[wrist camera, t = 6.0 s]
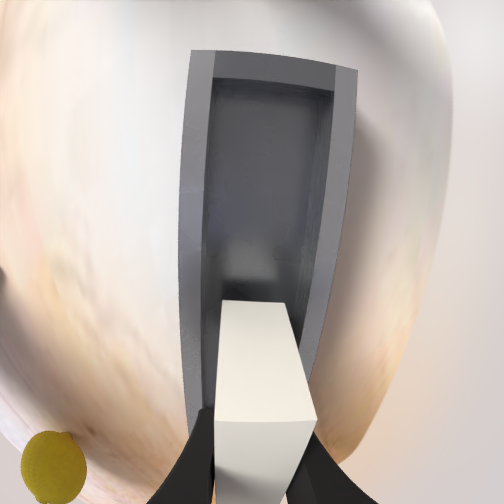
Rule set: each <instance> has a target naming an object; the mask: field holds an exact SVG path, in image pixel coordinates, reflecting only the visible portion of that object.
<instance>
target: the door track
mask: <svg viewBox="0 0 504 504" xmlns="http://www.w3.org/2000/svg"><path fill="white" fill-rule="evenodd" d="M357 76H358V70H355V69H351V68H347V67H342V66H338V65H333V64H329V63H324V62H318V61H313V60H307V59H301V58H295V57H288V56H281V55H272V54H263V53H252V52H239V51H217V50H191V56H190V64H189V72H188V81H187V90H186V100H185V111H184V122H183V135H182V150H181V167H180V189H179V225H178V279H179V315H180V337H181V354H182V369H183V382H184V393H185V404H186V414H187V423H188V432H189V437H190V435H191V432H192V430H193V428H194V425H195V422H196V419H197V416H198V412H199V410H200V409H202V408H203V409H215V397H216V381H217V365H218V351H219V337H220V324H221V311H222V300H231V301H250V302H273V303H285V306H286V310H287V313H288V317H289V320H290V324H291V327H292V331H293V334H294V338H295V341H296V345H297V348H298V352H299V355H300V359H301V362H302V366H303V369H304V373H305V377H306V380H307V384H308V383H309V379H310V375H311V372H312V368H313V364H314V360H315V356H316V352H317V349H318V344H319V340H320V336H321V332H322V328H323V323H324V319H325V315H326V310H327V306H328V301H329V296H330V291H331V286H332V281H333V276H334V271H335V266H336V260H337V255H338V249H339V243H340V238H341V231H342V225H343V219H344V212H345V205H346V198H347V191H348V183H349V175H350V166H351V157H352V147H353V137H354V125H355V112H356V96H357Z"/></svg>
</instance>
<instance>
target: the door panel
mask: <svg viewBox="0 0 504 504" xmlns="http://www.w3.org/2000/svg"><path fill="white" fill-rule="evenodd" d="M316 422H317V416H316V413H315V409H314V405H313V402H312V398H311V395H310V391H309V387H308V384H307V380H306V377H305V373H304V369H303V366H302V362H301V359H300V355H299V352H298V348H297V345H296V341H295V338H294V334H293V331H292V327H291V324H290V320H289V317H288V313H287V310H286V306H285V303H273V302H250V301H231V300H222V311H221V324H220V337H219V351H218V365H217V381H216V397H215V414H214V452H215V492H216V504H280V502H281V500H282V498H283V496H284V494H285V492H286V490H287V488H288V486H289V484H290V482H291V480H292V478H293V476H294V473H295V471H296V469H297V467H298V465H299V463H300V460H301V458H302V456H303V454H304V451H305V449H306V447H307V444H308V442H309V439H310V437H311V435H312V432H313V430H314V427H315V425H316Z"/></svg>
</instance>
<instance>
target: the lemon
mask: <svg viewBox="0 0 504 504" xmlns="http://www.w3.org/2000/svg"><path fill="white" fill-rule="evenodd" d="M21 474H22V477H23V480H24V482H25V484H26V486H27V487H28V489H29V490H30V491H31V492H32V493H33V494H34V495H35V497H36V500H37V501H38V502H40V503H42V504H47V503H49V504H66V503H69V502H71V501H72V500H74V499H75V498H76V496H77V495H78V494H79V492H80V491H81V489H82V487H83V485H84V483H85V480H86V475H87V466H86V460H85V457H84V454H83V452H82V451H81V449H80V447H79V446H78V445H77V444H76V443H75V442H74V441H73V439H72V437H71V435H70V434H69V433H67V432H62V433H59V432H56V431H44V432H41V433H38V434H36V435H35V436H34V437H32V438H31V440H30V441H29V442H28V444H27V445H26V447H25V449H24V452H23V455H22V459H21Z"/></svg>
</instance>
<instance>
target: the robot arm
mask: <svg viewBox="0 0 504 504" xmlns="http://www.w3.org/2000/svg"><path fill="white" fill-rule="evenodd" d="M214 414H215V409H203V408H202V409H200V410H199V412H198V416H197V419H196V422H195V425H194V428H193V430H192V432H191V435H190V437H189V439H188V441H187V443H186V445H185V447H184V449H183V451H182V453H181V455H180V457H179V459H178V460H177V462H176V464H175V465H174V467H173V469H172V470H171V472H170V473H169V475H168V476H167V478H166V479H165V481H164V482H163V483H162V485H161V486H160V487H159V489H158V490H157V491H156V493H155V494H154V495H153V496H152V497H151V499H150V500H149V501H148V502H147V503H146V504H211V503H212V495H213V488H214V481H215V452H214ZM285 493H286V497H287V502H288V504H378V503H377V502H376V501H374V500H373V499H372V498H370V497H369V496H368V495H367V494H365V493H364V492H363V491H362V490H361V489H360V488H359V487H358V486H356V484H355V483H353V482H352V481H351V480H350V479H349V477H348V476H347V475H346V474H345V473H344V472H343V471H342V470H341V469H340V467H339V466H338V465H337V464H336V463H335V461H334V460H333V459H332V457H331V456H330V455H329V453H328V452H327V451H326V449H325V448H324V446H323V445H322V444H321V442H320V441H319V439H318V438H317V436H316V435H315V433H314V431H313V432H312V435H311V437H310V439H309V442H308V444H307V447H306V449H305V451H304V454H303V456H302V458H301V460H300V463H299V465H298V467H297V469H296V471H295V473H294V476H293V478H292V480H291V482H290V484H289V486H288V488H287V490H286V492H285Z"/></svg>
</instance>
